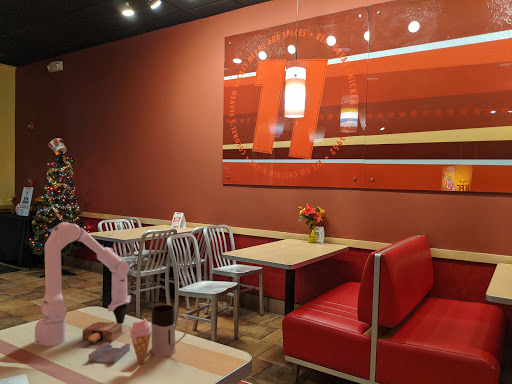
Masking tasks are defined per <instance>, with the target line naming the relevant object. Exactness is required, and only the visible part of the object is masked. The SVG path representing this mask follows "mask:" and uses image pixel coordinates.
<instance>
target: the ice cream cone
mask: <svg viewBox="0 0 512 384" xmlns="http://www.w3.org/2000/svg"><path fill="white" fill-rule="evenodd" d="M150 327H151V324H150V323H149V321H148V320H147V319H146V318H143V320H140V321H139V320H137V321H133V322H132V327H131V328H129V329H128V330H129V332H130V334H129V335H130V336H129V337H130V339H131V342H132V346H133V349H134V353H135V356H136V360H137V362H138V363H139V366H143V365H145V361H146V356H147V354H148V348H149V346H150V345H149V344H150V339H151V335H152V331H151V328H150Z"/></svg>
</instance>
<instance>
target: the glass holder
mask: <svg viewBox="0 0 512 384" xmlns="http://www.w3.org/2000/svg"><path fill="white" fill-rule="evenodd" d="M181 316H182V317H184V319H185V320H186V328H185V331H184V333H183V335H182V337H181V338H179V339H178V340H177V341H176V327H177V326H178V323H179V318H180V317H181ZM150 319H151V322H150V323H151V324H150V327H151V328H150V331H151V353H150V355H151V356H152V357H155V358H166V357H170V356H172V355H174V354H176V353H177V348H176V344H178V343H179V342H180V341H181V340H182V339H183V338H184V337H186V335H187V332H188V330H189V329H188V328H189V318H188V316H186V315H185V314H184V313H183V314H182V313H181V314H179V315H178V316H177V317H176V319H175V306H173V305H170V304H160V305H157V306H153V307H152V308H151V318H150Z"/></svg>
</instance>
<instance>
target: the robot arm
mask: <svg viewBox="0 0 512 384" xmlns="http://www.w3.org/2000/svg"><path fill="white" fill-rule="evenodd" d="M75 241H76V242H81V243H83V244H84V245H85V246H87V247H88V248H89V249H90V250H92V251H93V252H94V253H96V258H97V260H98V261H100V262H101V263H102V264H103V265H104V266H106V268H108V269H109V271H110V272H111V277H112V278H111V285H112V286H111V288H112V289H111V291H112V292H111V295H112V297H111V299H112V300H111V302H110V304H109V305H108V306H107V311H108V312H112V313H113V315H114V317H115V320H116V323H117V325H123V323H124V322H125V316H126V313H127V311H128V309H129V307H130V304H129V303H131V301H132V295H130V294H128V273H130V272H129V271H130V269H131V267H130V266H129V263H128V262H127V261H125V260H124V259H123V260H122V258H123V257H122V256H121V255H118V254H116V252H114V248H112V247H108V246H106V247H103V246H102V245H101V244H100V243H99V242H98V241H97V240H96V239H95V238H94V237H93V236H91V234H90V233H89V232H87V231H86V230H85V229H83V228H82V227H80V225H78V224H76V223H70V222H67V221H63V222H60V223H58V224H57V225H55V226H54V227H53V228H52V231H51V233H50V235H49V236H48V239H47V240H46V242H45V244H44V266H45V267H44V271H45V274H44V275H45V281H44V282H45V294H44V296H43V302H42V304H41V306H40V310H41V311H40V312H41V314H42V315H43V318H42V319H40V320H38V321H37V323H36V324H35V327H34V345H37V346H39V345H40V346H45V347H55V346H59V345H61V344H64V343H65V342H66V341H67V340H66V317H67V313H68V308H67V307H66V304H65V300H64V297H63V293H62V292H63V290H62V250H63V249H64V248H65V247H66V246H67V245H68V244H71V243H73V242H75Z"/></svg>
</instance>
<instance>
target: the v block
mask: <svg viewBox="0 0 512 384" xmlns="http://www.w3.org/2000/svg"><path fill="white" fill-rule="evenodd" d="M130 351H131V343H125V344H124V345H122V346H120V347H113V344H110V345H109V342H105V343H104V344H103V345H101V346H100V347H98V348H97V349H94V350H93V351H91V352H90V353H89V354H88V363H98V364H111V365H115V364H116V363H118V361H120V360H121V359H122V358H123V357H125V356H126V354H127V353H129V352H130Z"/></svg>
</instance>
